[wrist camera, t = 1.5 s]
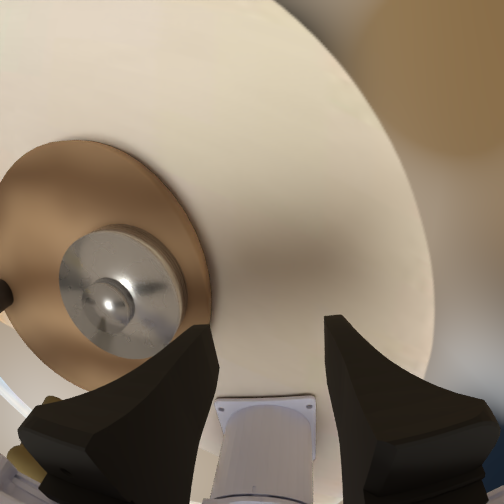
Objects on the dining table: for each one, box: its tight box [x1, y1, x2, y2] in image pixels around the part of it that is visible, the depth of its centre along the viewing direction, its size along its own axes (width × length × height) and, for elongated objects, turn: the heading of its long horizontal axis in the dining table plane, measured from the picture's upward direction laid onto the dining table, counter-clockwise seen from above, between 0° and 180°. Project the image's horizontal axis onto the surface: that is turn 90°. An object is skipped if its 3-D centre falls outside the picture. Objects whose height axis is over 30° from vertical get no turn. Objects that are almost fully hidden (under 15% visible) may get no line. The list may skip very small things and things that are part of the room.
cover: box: [59, 224, 188, 359], centre depth 17 cm, size 8×8×3 cm
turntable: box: [0, 140, 211, 392], centre depth 17 cm, size 20×20×5 cm
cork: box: [7, 396, 62, 483], centre depth 22 cm, size 6×6×11 cm
